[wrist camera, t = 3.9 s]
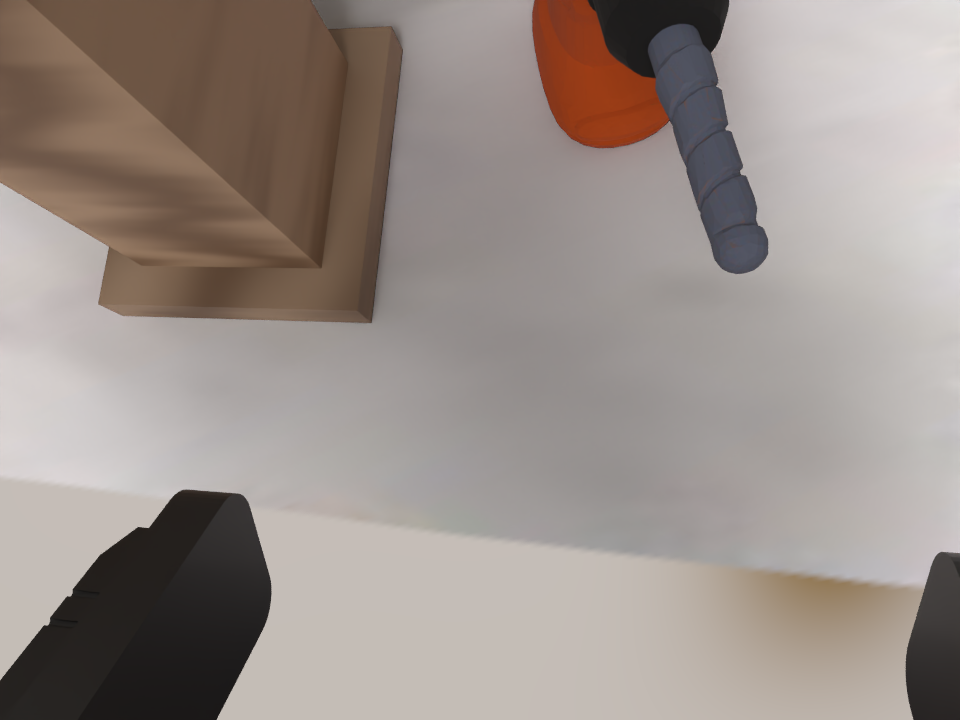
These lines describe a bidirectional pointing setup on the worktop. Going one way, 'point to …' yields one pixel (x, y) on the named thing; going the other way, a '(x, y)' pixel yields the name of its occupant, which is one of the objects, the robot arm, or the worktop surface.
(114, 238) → the walnut stand
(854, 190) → the worktop surface
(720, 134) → the toy drill
